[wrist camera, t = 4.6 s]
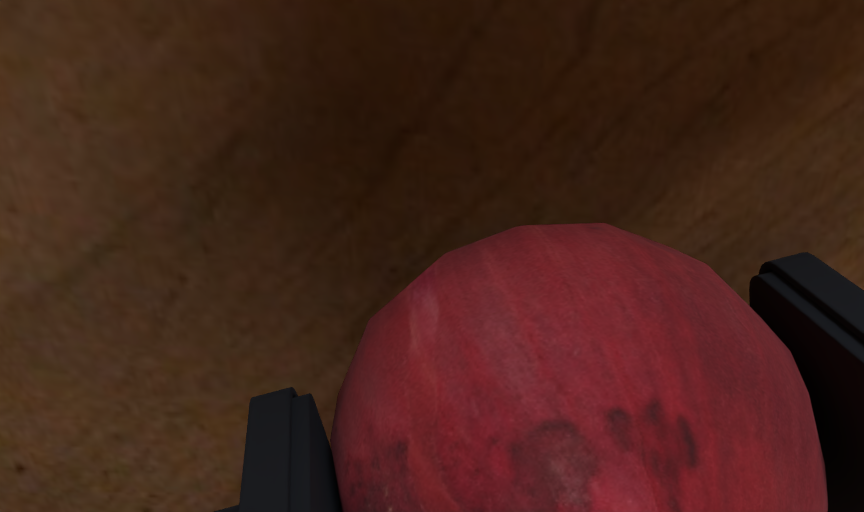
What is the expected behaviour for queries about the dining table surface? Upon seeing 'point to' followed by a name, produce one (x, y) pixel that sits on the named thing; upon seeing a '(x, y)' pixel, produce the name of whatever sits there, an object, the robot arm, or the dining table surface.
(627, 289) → the onion
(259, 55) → the dining table surface
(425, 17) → the dining table surface
